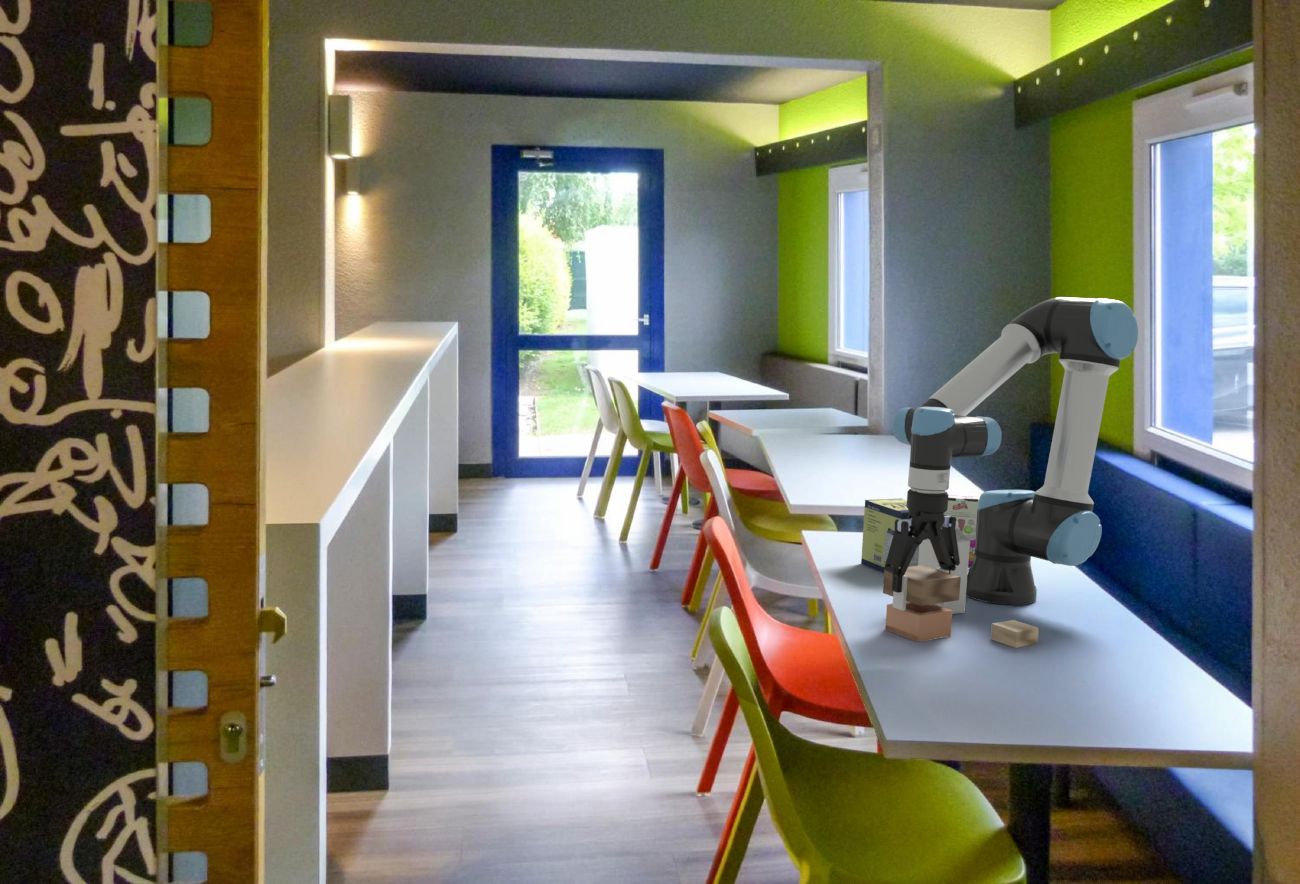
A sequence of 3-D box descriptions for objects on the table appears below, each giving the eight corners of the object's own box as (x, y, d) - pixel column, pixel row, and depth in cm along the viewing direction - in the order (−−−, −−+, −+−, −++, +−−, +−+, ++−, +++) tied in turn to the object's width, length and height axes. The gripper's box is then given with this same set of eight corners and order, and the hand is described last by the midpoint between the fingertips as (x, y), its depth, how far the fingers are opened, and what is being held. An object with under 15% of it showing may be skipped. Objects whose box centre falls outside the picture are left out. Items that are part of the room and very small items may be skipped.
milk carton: (937, 616, 245) (944, 523, 243) (914, 607, 252) (920, 516, 249) (964, 613, 249) (972, 521, 246) (941, 604, 255) (948, 514, 252)
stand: (1012, 635, 234) (1013, 619, 234) (1037, 643, 229) (1038, 628, 229) (990, 639, 231) (991, 623, 231) (1015, 647, 226) (1016, 632, 226)
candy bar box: (978, 563, 295) (983, 496, 292) (980, 568, 290) (986, 499, 288) (931, 559, 296) (935, 493, 294) (932, 564, 292) (937, 496, 289)
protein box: (896, 561, 293) (900, 497, 291) (936, 577, 279) (941, 509, 277) (859, 564, 289) (863, 499, 287) (898, 579, 275) (902, 511, 273)
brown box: (920, 587, 239) (922, 565, 238) (959, 600, 231) (960, 576, 230) (882, 593, 234) (884, 569, 233) (920, 605, 225) (922, 582, 225)
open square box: (917, 624, 239) (919, 599, 238) (950, 636, 232) (952, 610, 231) (885, 629, 235) (887, 604, 234) (917, 641, 227) (919, 615, 227)
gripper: (897, 497, 220) (889, 617, 223) (985, 489, 233) (976, 603, 235) (869, 490, 227) (861, 607, 230) (956, 483, 239) (947, 594, 242)
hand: (919, 605), depth 233 cm, fingers closed on brown box, 10 cm apart
